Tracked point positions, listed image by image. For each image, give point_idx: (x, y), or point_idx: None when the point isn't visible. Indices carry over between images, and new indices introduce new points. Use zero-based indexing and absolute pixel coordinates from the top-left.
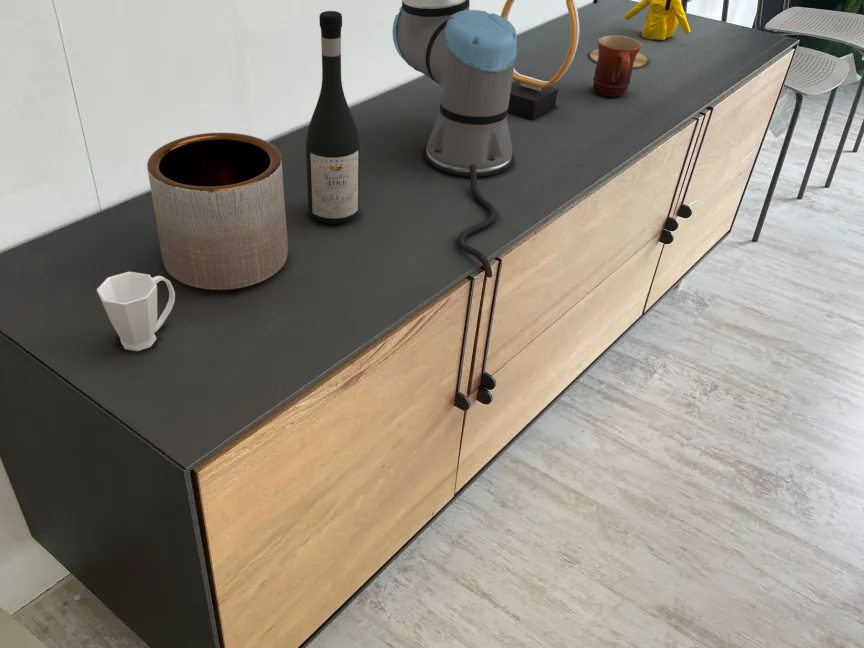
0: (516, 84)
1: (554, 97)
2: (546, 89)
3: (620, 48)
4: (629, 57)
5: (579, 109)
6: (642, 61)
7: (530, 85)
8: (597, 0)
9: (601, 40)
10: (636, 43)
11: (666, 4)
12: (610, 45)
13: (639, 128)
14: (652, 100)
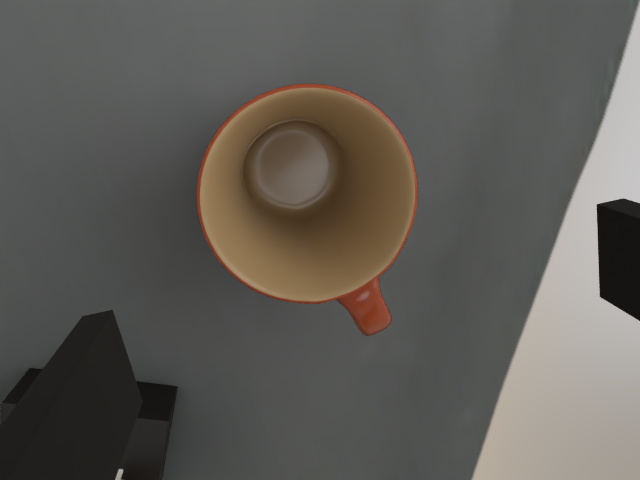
0: None
1: (169, 423)
2: (135, 448)
3: (299, 112)
4: (386, 309)
5: (250, 358)
6: None
7: None
8: (134, 397)
9: (210, 186)
10: (381, 133)
11: (627, 310)
12: (250, 131)
13: (444, 390)
14: (444, 155)
